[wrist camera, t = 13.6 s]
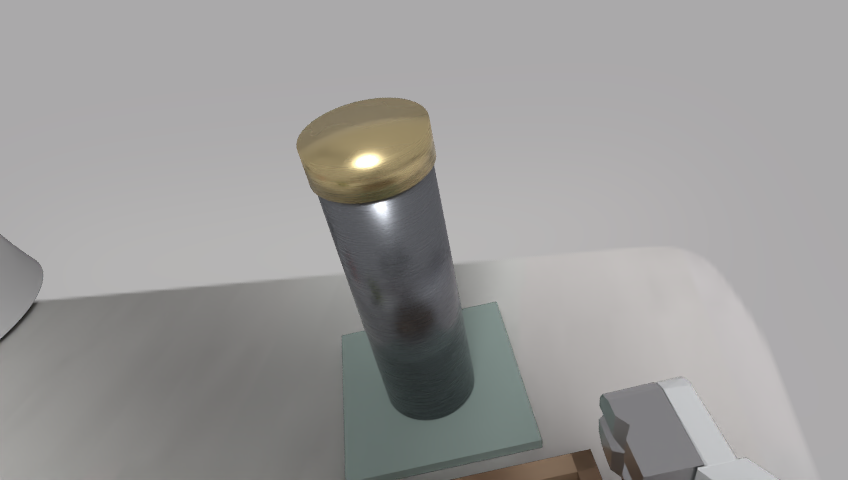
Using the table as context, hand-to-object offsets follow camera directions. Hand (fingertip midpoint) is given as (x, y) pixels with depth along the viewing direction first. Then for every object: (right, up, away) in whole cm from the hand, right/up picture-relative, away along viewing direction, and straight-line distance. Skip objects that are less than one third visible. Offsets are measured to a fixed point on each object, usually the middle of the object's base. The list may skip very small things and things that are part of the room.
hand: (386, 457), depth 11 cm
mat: (+1, -4, +19) cm, 20 cm away
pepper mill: (+1, -3, +19) cm, 19 cm away
